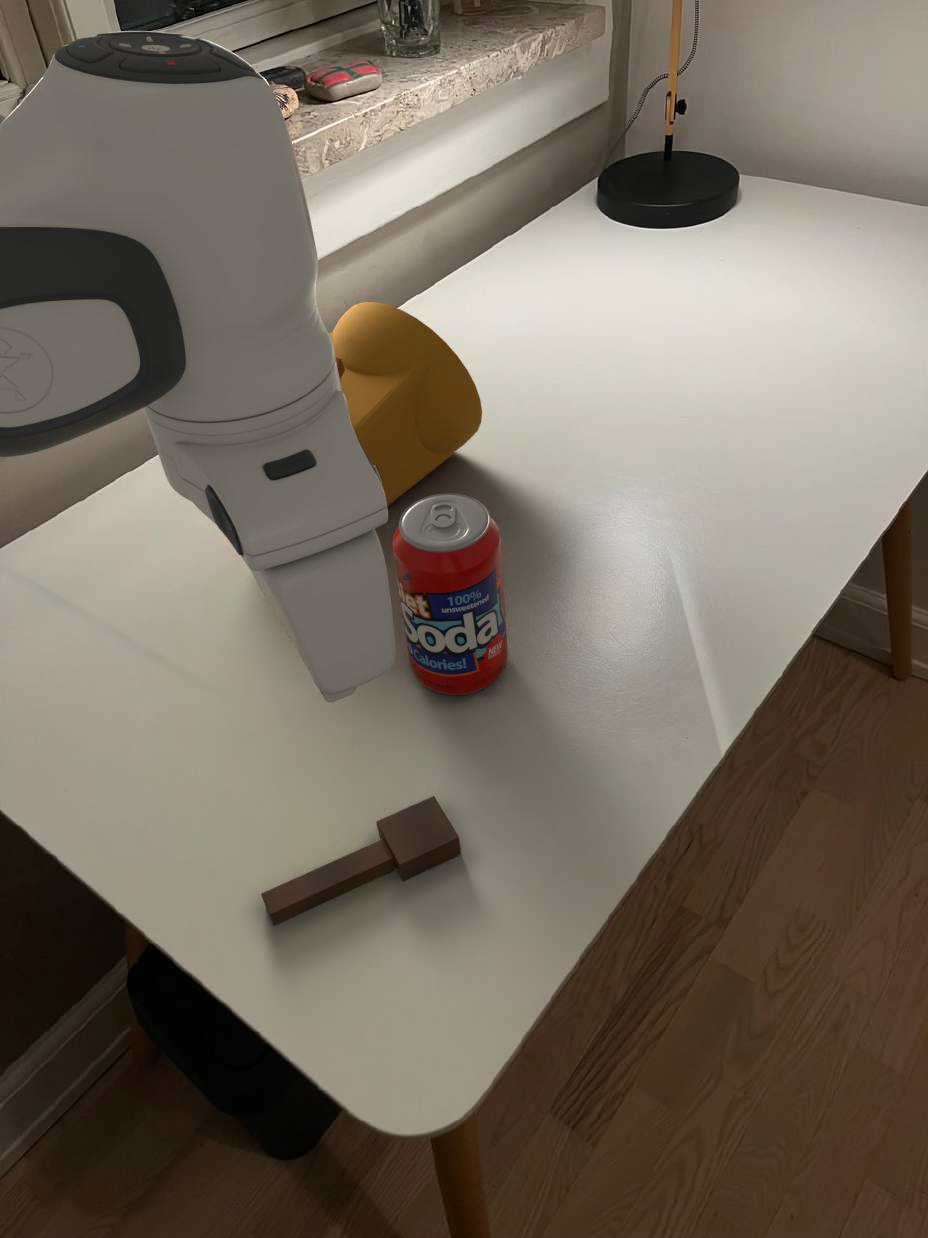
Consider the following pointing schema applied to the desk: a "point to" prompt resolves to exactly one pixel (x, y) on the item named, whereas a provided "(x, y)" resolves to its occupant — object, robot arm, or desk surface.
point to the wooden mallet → (372, 860)
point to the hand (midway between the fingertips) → (305, 636)
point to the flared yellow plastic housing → (403, 393)
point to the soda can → (451, 593)
